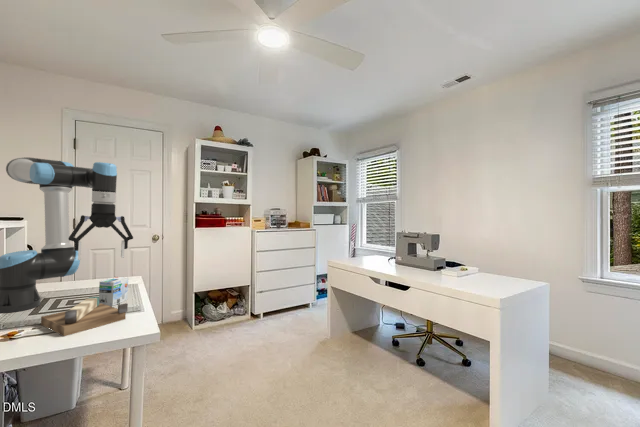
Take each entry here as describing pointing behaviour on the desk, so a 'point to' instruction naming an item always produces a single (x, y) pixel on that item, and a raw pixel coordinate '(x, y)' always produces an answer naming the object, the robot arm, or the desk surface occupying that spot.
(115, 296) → the light bulb box
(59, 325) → the walnut seat
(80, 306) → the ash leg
